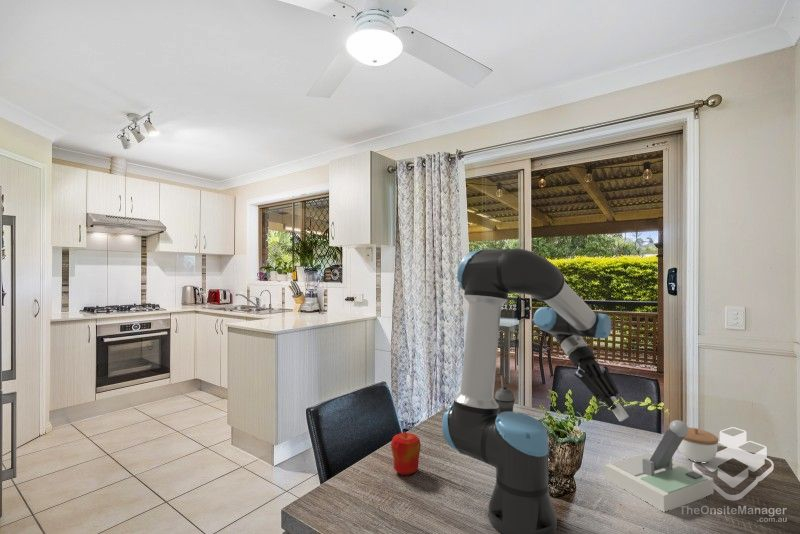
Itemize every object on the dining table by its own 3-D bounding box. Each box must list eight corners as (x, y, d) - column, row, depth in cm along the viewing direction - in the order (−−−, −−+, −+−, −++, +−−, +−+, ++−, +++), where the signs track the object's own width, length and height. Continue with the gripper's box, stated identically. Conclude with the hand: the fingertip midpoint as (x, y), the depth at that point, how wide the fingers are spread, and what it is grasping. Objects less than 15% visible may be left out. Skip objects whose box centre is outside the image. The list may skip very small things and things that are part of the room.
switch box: (605, 479, 107) (605, 452, 107) (652, 465, 115) (652, 440, 115) (663, 512, 92) (663, 480, 92) (713, 494, 100) (713, 464, 100)
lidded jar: (678, 447, 127) (678, 419, 127) (720, 458, 119) (720, 428, 119) (671, 458, 119) (671, 428, 119) (715, 471, 111) (715, 439, 112)
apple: (397, 482, 105) (397, 439, 105) (386, 467, 113) (386, 427, 113) (425, 476, 108) (425, 434, 109) (413, 462, 116) (413, 423, 116)
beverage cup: (517, 434, 136) (517, 378, 137) (497, 434, 136) (496, 378, 137) (511, 426, 144) (511, 373, 144) (492, 426, 144) (492, 373, 144)
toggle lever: (642, 462, 105) (668, 418, 99) (655, 459, 107) (681, 415, 100) (656, 475, 101) (683, 430, 95) (668, 471, 103) (696, 427, 97)
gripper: (569, 346, 123) (616, 416, 107) (598, 343, 128) (647, 410, 112) (557, 359, 128) (600, 427, 112) (585, 356, 133) (631, 421, 117)
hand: (624, 418), depth 112 cm, fingers closed
